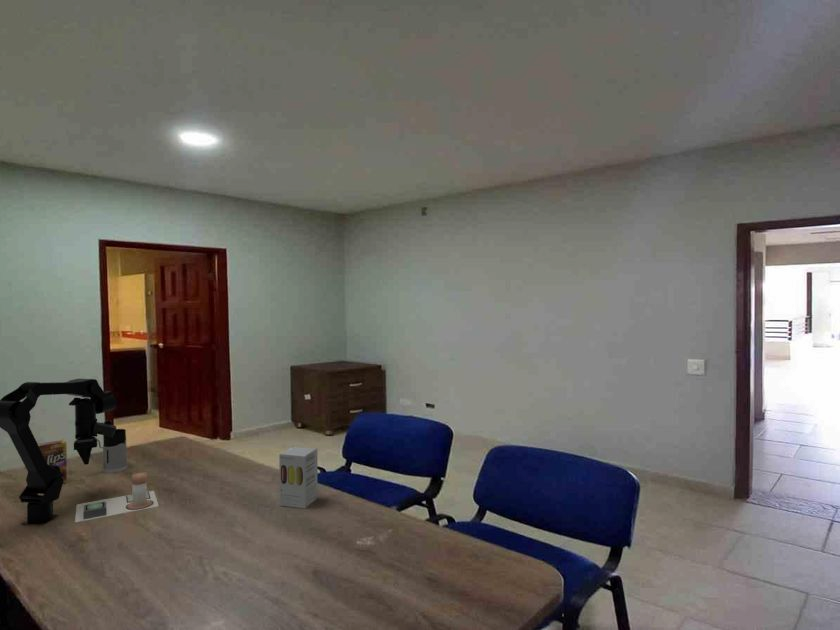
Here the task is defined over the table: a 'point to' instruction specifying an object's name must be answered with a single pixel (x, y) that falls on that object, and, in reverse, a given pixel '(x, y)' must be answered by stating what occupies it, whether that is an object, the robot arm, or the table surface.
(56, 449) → the candy box
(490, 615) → the table surface
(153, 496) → the picture board
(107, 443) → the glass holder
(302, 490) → the supplement box
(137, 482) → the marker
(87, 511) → the button housing
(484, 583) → the table surface
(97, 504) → the button
